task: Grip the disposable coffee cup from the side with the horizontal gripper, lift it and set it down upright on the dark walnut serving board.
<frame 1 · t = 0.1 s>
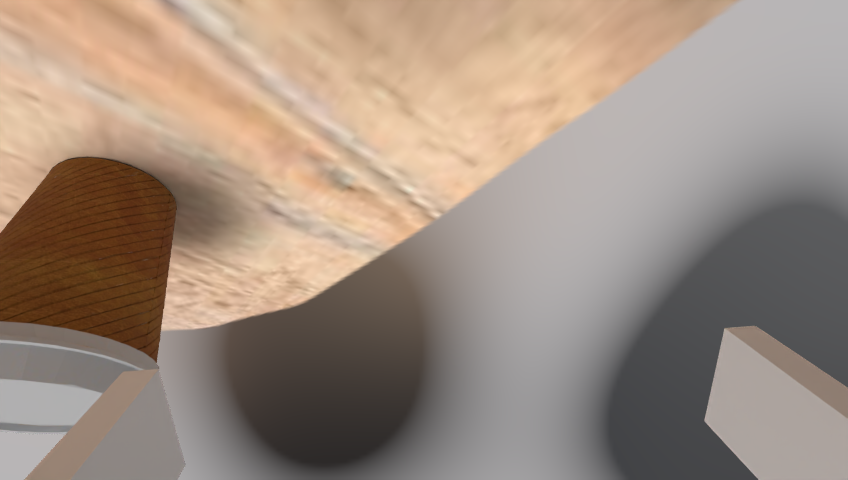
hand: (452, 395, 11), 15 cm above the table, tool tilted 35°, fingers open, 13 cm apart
disposable coffee cup: (117, 193, 26), on the table
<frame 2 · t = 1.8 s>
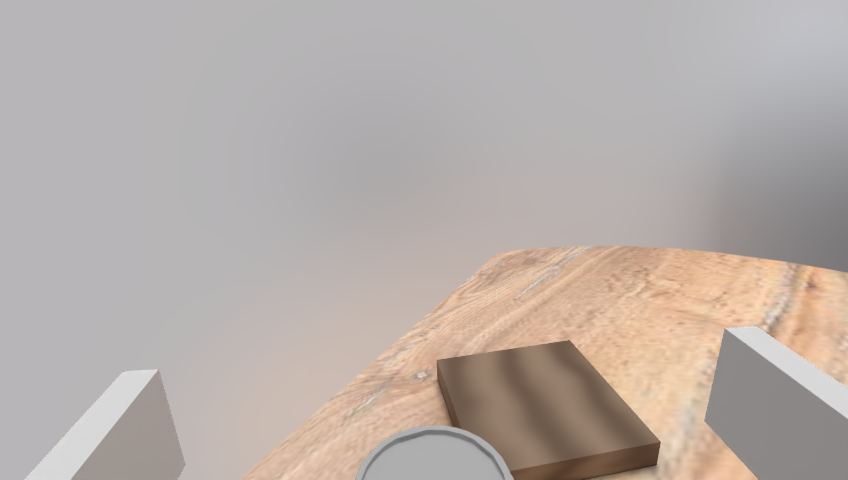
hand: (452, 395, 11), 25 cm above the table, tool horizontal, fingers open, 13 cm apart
walnut board: (532, 415, 45), on the table
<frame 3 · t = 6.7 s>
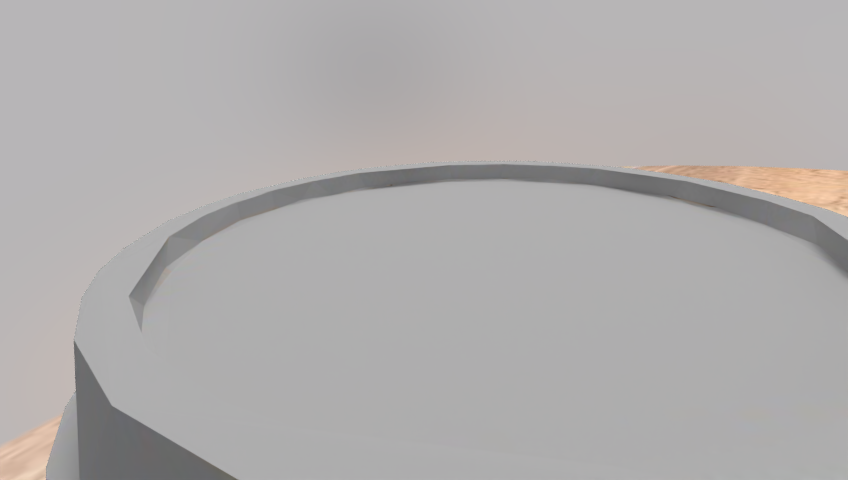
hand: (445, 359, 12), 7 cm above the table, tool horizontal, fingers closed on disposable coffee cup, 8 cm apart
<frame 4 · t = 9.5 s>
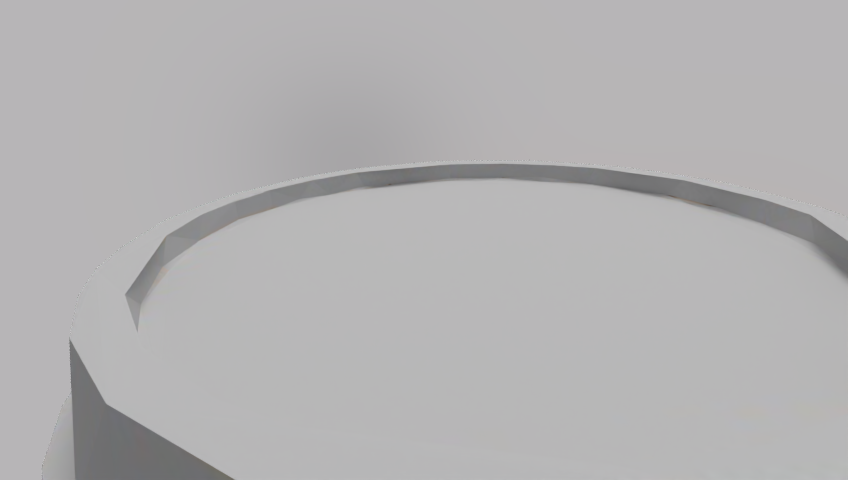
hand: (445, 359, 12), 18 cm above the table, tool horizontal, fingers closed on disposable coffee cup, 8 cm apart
when the fingers open (11 cm above the table, at t = 12.2 s): disposable coffee cup drops 1 cm, resting on walnut board.
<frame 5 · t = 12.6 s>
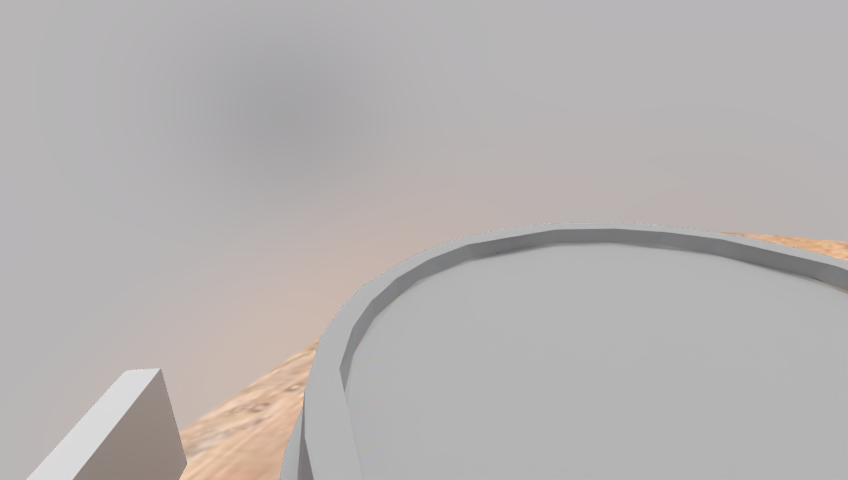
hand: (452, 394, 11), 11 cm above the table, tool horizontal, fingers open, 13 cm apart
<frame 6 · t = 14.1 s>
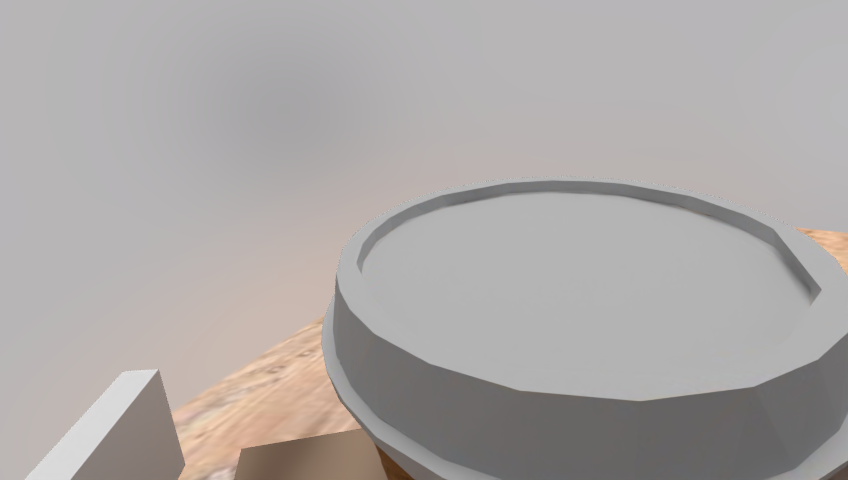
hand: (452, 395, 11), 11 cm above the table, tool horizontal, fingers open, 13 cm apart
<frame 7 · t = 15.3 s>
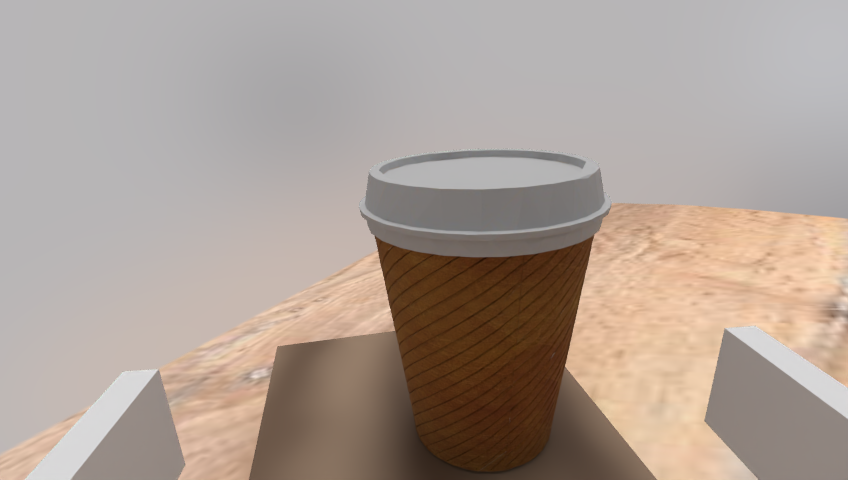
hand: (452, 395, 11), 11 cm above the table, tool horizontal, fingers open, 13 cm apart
walnut board: (431, 455, 22), on the table
disposable coffee cup: (481, 422, 21), point 2 cm above the table, touching walnut board
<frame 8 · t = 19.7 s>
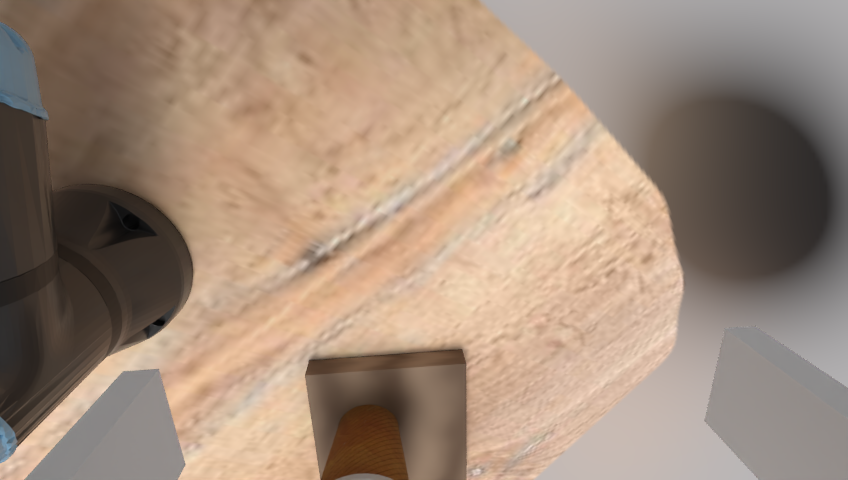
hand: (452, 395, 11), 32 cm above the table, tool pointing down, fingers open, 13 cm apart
walnut board: (391, 416, 50), on the table
disposable coffee cup: (368, 427, 47), point 2 cm above the table, touching walnut board
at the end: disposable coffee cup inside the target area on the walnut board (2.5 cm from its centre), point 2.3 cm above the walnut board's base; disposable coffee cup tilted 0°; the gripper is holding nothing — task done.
